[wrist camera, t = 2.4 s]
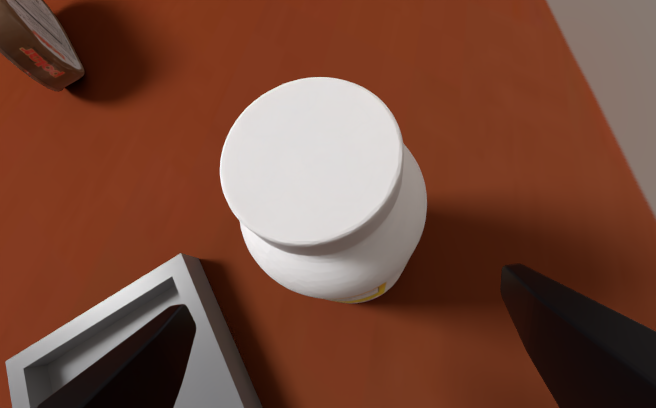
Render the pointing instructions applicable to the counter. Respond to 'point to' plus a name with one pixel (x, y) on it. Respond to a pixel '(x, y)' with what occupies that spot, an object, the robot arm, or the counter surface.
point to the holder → (125, 319)
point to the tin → (38, 43)
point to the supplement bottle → (324, 189)
